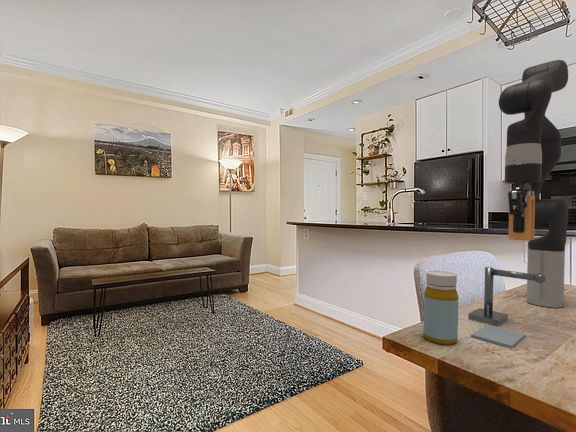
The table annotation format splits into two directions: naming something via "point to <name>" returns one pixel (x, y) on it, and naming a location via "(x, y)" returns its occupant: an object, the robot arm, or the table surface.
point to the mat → (498, 336)
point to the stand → (487, 313)
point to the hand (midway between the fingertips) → (521, 231)
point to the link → (529, 222)
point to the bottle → (441, 308)
